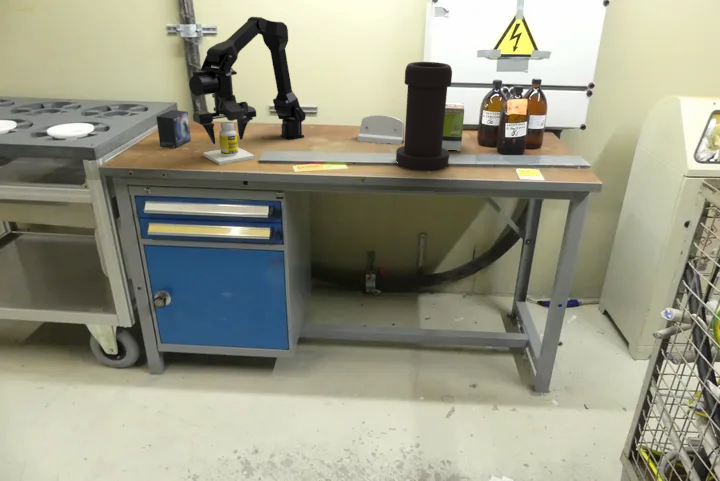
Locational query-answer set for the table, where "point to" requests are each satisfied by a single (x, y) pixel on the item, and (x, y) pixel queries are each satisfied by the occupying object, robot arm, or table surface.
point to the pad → (221, 159)
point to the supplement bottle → (228, 139)
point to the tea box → (453, 126)
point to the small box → (173, 129)
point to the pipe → (425, 117)
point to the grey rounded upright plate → (381, 129)
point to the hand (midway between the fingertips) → (227, 141)
